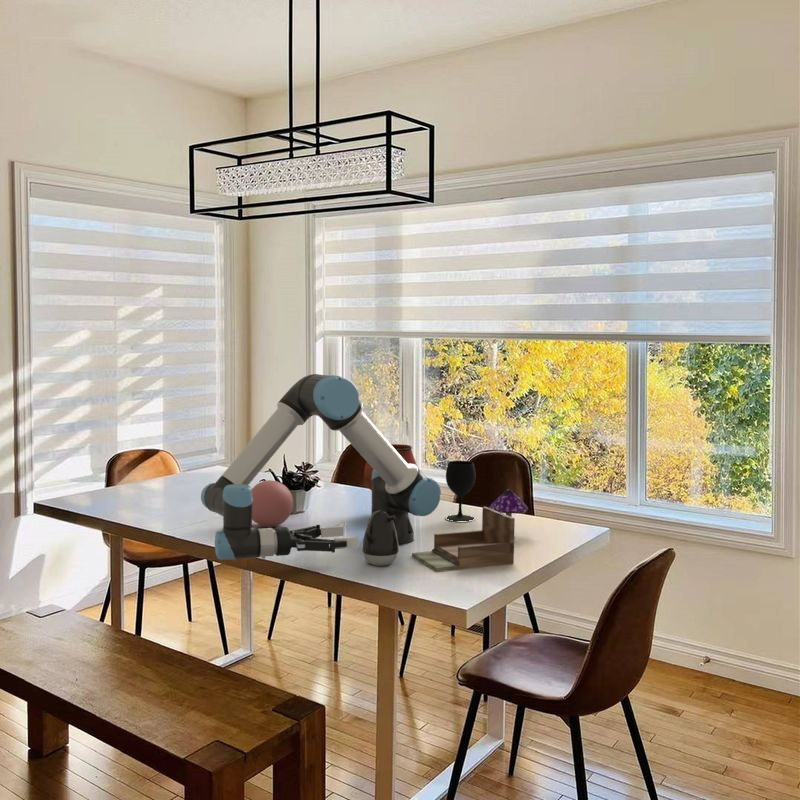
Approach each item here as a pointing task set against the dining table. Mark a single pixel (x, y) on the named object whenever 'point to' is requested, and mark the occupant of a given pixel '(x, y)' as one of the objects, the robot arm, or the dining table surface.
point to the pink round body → (271, 503)
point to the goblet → (402, 450)
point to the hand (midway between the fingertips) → (350, 536)
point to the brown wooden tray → (473, 545)
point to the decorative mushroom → (509, 504)
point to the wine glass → (460, 483)
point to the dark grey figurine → (380, 539)
